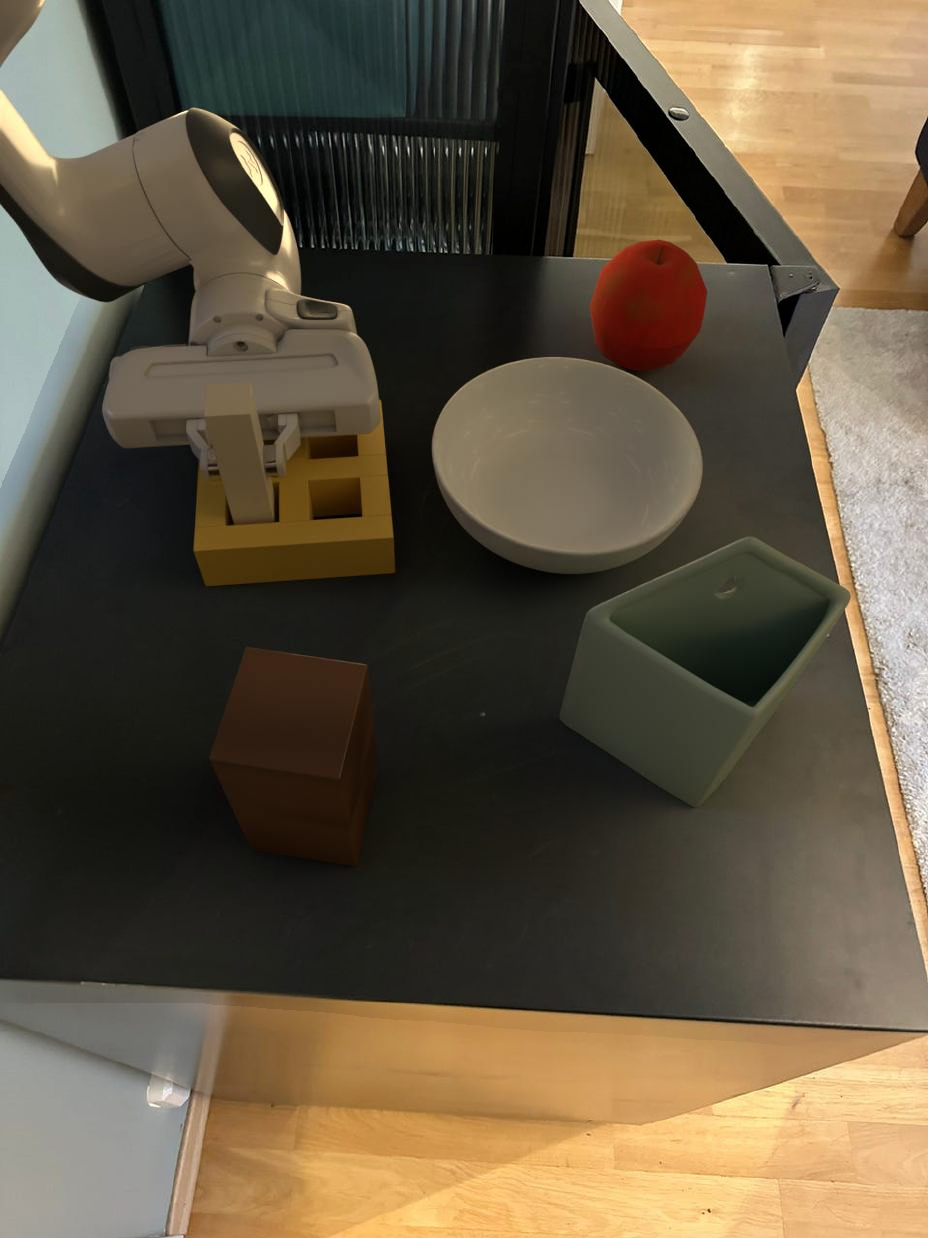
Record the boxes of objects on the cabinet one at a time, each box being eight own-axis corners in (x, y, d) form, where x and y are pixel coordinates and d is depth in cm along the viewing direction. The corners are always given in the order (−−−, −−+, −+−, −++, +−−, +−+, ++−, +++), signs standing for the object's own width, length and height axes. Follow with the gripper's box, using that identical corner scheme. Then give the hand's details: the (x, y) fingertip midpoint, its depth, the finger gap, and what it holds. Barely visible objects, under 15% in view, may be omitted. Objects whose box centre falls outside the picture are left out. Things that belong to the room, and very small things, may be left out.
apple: (597, 309, 91) (617, 200, 81) (698, 333, 89) (731, 224, 80) (571, 376, 86) (590, 267, 76) (679, 402, 84) (711, 295, 74)
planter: (577, 819, 62) (632, 671, 45) (558, 714, 66) (601, 543, 50) (813, 797, 63) (948, 645, 47) (779, 695, 68) (892, 523, 51)
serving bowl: (700, 609, 72) (724, 555, 66) (429, 606, 71) (430, 551, 65) (666, 417, 83) (684, 356, 77) (432, 412, 82) (433, 351, 77)
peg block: (212, 447, 79) (201, 409, 75) (383, 438, 80) (381, 399, 77) (205, 586, 71) (193, 550, 67) (395, 573, 72) (393, 537, 69)
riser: (278, 752, 64) (245, 646, 52) (378, 768, 63) (367, 664, 52) (250, 850, 60) (208, 758, 48) (357, 867, 60) (339, 779, 48)
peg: (243, 525, 75) (205, 384, 62) (280, 523, 75) (250, 381, 62) (242, 555, 73) (203, 416, 60) (281, 552, 73) (250, 413, 61)
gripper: (100, 317, 70) (80, 451, 63) (371, 304, 72) (382, 433, 64) (123, 380, 75) (107, 511, 68) (375, 367, 77) (386, 493, 70)
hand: (243, 473), depth 66 cm, fingers closed on peg, 3 cm apart
